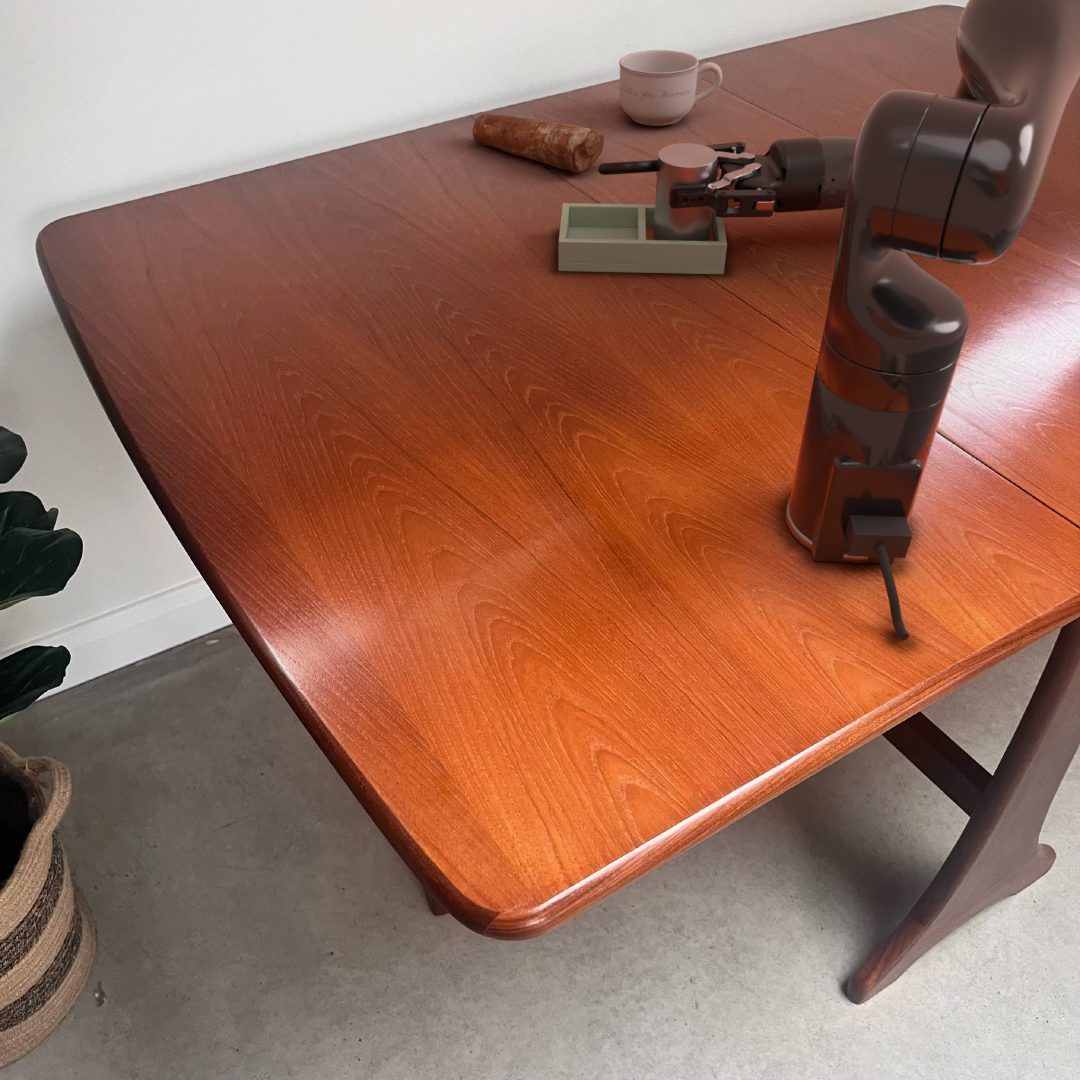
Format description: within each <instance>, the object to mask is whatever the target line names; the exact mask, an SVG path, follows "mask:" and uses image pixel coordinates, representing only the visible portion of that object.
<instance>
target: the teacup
mask: <svg viewBox="0 0 1080 1080" xmlns="http://www.w3.org/2000/svg"><path fill="white" fill-rule="evenodd" d="M618 65H619V101H620V105H621V108H622V110H623V111H624V112H625V114H627V115H628V116H629V117H630V118H631V120H633V121H634V122H635V123H638V124H640V125H643V126H650V127H664V126H669V125H674V124H677V123H678V122H680V121H681V120H682V119H683V118H684V117H685V116H686V115H687V114H689V112H691V110H692V108H696V107H697V106H698V105H699V104H700V103H701V101H703V100H705V99H707V98H709V97H711V96H712V95H713V94H714V93H716V92H717V91H718V89H719V88H720V87H721V85H722V82H723V71H722V69H721V67H720V66H719V65H718V64H717V63H715V62H713V61H708V62H707V61H706V62H704V63H702V64H700V62H699V59H698V58H697V57H696V56H694V55H692V54H691V53H686V52H683V51H676V50H667V49H651V50H641V51H636V52H632V53H631V52H630V53H629V54H626V55H624V56H622V57H621V58H620V59H619V61H618ZM707 71H708V72H709V71H711V72H713V74H714V77H715V78H714V82H713V83H712V84H711V85H710V86H709V87H707V89H705V90H703V91H701V92H698V93H697V85H698V83H699V82H700V81H701V77H702V76H703V74H704V73H705V72H707Z"/></svg>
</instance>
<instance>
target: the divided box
mask: <svg viewBox="0 0 1080 1080" xmlns="http://www.w3.org/2000/svg"><path fill="white" fill-rule="evenodd" d="M715 212H716V211H715V210H712V216H711V226H710V235H709V241H669V240H653V230H654V214H655V204H643V203H642V204H640V203H638V204H637V203H636V204H635V203H586V202H585V203H584V202H583V203H581V202H580V203H578V202H577V203H575V202H563V203H562V205H561V216H560V222H559V223H560V225H559V235H558V259H557V260H558V263H557V264H558V268H557V269H558V272H584V273H585V272H587V273H588V272H589V273H590V272H592V273H639V274H640V273H641V274H681V275H682V274H689V275H724V274H725V265H726V258H727V257H726V255H727V249H728V241H727V237H726V236H727V235H726V228H725V223H724V221H725V220H724V218H720V217H717V216H715Z"/></svg>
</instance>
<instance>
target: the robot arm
mask: <svg viewBox="0 0 1080 1080" xmlns="http://www.w3.org/2000/svg"><path fill="white" fill-rule="evenodd" d="M955 51H956V58H957V62H958V65H959V68H960V72H961V77H960V80H959V83H958V85H957V87H956V90H955V93H954V96H952V95H945V94H938V93H936V92H935V93H933V92H927V91H920V90H914V89H906V88H905V89H904V88H903V89H902V88H897V89H893V90H889V91H887V92H885V93H883V94H882V95H880V97H879V98H877V100H876V101H875V102H874V103H873V104H872V105H871V108H870V109H869V111H868V112H867V113H866V115H865V118H864V119H863V121H862V123H861V126H860V128H859V131H858V134H857V136H843V135H830V136H812V137H796V138H795V137H794V138H779V139H776V140H774V141H773V142H772V143H771V145H770V146H769V150H767V152H766V153H765V154H755V153H752V152H751V153H750V152H746V143H745V142H743V141H734V142H733V141H732V142H723V143H715V144H703V145H704V146H707V147H709V148H711V149H713V150H714V151H715V152H716V153H717V156H718V157H717V167H716V177H715V182H713V183H710V184H708V188H706V185H705V184H690V185H674V186H672V187H671V188H670V190H669V204H670V207H671V208H689V207H704V206H706V207H705V208H706V209H708V210H715V211H716V212H715V216H717V217H720V218H723V219H725V218H771V217H773V215H774V213H776V214H784V213H799V212H813V211H814V212H815V211H830V210H839V209H842V214H841V220H840V221H841V222H840V230H839V238H838V244H837V250H836V258H835V264H834V271H833V275H832V281H831V286H830V291H829V297H828V304H827V312H826V317H825V321H824V326H823V331H822V336H821V340H820V346H819V352H818V356H817V361H816V365H815V370H814V375H813V380H812V385H811V390H810V395H809V400H808V405H807V406H808V407H807V411H806V415H805V420H804V425H803V430H802V434H801V435H802V436H801V440H800V446H799V450H798V454H797V455H798V456H797V459H796V460H797V461H796V466H795V471H794V475H793V481H792V487H791V492H790V496H789V498H788V501H787V506H786V511H785V522H786V525H787V527H788V529H789V531H790V533H791V534H792V536H793V537H794V538H795V539H796V540H797V541H798V543H800V544H801V545H802V546H804V547H805V548H806V549H808V550H809V551H810V553H811V555H812V559H813V560H814V561H816V562H833V563H834V562H836V563H852V564H853V563H854V564H855V563H856V564H858V563H859V564H860V563H862V564H863V563H864V564H865V563H866V564H879V567H880V571H881V574H882V579H883V583H884V586H885V590H886V594H887V599H888V603H889V604H888V605H889V611H890V617H891V621H892V624H893V625H892V626H893V628H894V631H895V633H896V635H897V637H898V639H899V640H901V641H906V640H907V639H909V638H910V635H909V632H908V630H907V629H906V627H905V624H904V621H903V617H902V611H901V604H900V598H899V595H898V590H897V586H896V582H895V578H894V573H893V570H892V567H891V564H894V563H895V562H896V559H906V556H907V554H908V551H909V548H910V544H911V541H912V538H913V534H912V532H911V527H910V525H909V523H910V519H911V516H912V513H913V509H914V507H915V502H916V500H917V497H918V493H919V489H920V486H921V482H922V480H923V476H924V473H925V469H926V467H927V463H928V459H929V456H930V453H931V450H932V447H933V443H934V440H935V437H936V434H937V430H938V427H939V424H940V422H941V421H940V420H941V418H942V414H943V411H944V408H945V404H946V402H947V398H948V395H949V392H950V389H951V386H952V383H953V379H954V377H955V374H956V373H955V372H956V369H957V366H958V363H959V360H960V356H961V353H962V351H963V347H964V345H965V341H966V338H967V334H968V331H969V330H968V329H969V325H970V315H969V310H968V308H967V305H966V303H965V301H964V300H963V298H962V297H961V296H960V295H959V294H958V293H957V292H956V291H955V290H954V289H953V288H952V287H950V286H949V285H948V284H947V283H945V282H943V281H942V280H941V279H939V278H938V277H936V276H934V275H933V274H932V273H930V272H929V271H927V270H926V269H924V268H923V267H922V266H921V265H920V264H918V262H916V261H915V260H914V259H913V258H912V257H911V255H913V256H914V255H915V256H920V257H922V258H923V257H924V258H929V259H933V260H937V261H942V262H947V263H953V264H956V265H957V264H958V265H967V266H982V265H984V266H985V265H989V264H991V263H993V262H995V261H997V260H999V258H1001V257H1002V256H1003V255H1004V254H1005V253H1006V252H1007V251H1009V249H1010V248H1011V246H1013V244H1014V243H1015V242H1016V240H1017V238H1018V237H1019V235H1020V233H1021V232H1022V230H1023V228H1024V226H1025V225H1026V222H1027V220H1028V218H1029V215H1030V213H1031V211H1032V210H1033V206H1034V204H1035V201H1036V199H1037V196H1038V193H1039V190H1040V188H1041V185H1042V182H1043V179H1044V177H1045V176H1044V175H1045V173H1046V170H1047V166H1048V163H1049V160H1050V156H1051V153H1052V150H1053V147H1054V144H1055V141H1056V138H1057V134H1058V131H1059V128H1060V125H1061V122H1062V119H1063V116H1064V113H1065V109H1066V107H1067V105H1068V103H1069V100H1070V98H1071V96H1072V94H1073V92H1074V89H1075V88H1076V86H1077V83H1078V81H1079V79H1080V0H968V1H967V3H966V5H965V7H964V9H963V11H962V13H961V15H960V18H959V22H958V24H957V29H956V35H955ZM655 173H656V174H655V175H656V176H657V172H655Z"/></svg>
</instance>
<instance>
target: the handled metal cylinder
mask: <svg viewBox="0 0 1080 1080" xmlns="http://www.w3.org/2000/svg"><path fill="white" fill-rule="evenodd" d="M704 145H705V144H699V143H694V142H692V143H691V142H680V143H673V144H669V145H666V146H664V147H662V148H661V149H660V150H659V151H658V154H657V159H647V160H646V159H645V160H630V161H629V160H628V161H615V162H612V161H611V162H602V163H600V164H599V165H598V168H597V172H598V173H599V174H600V175H602V176H611V175H627V174H629V175H630V174H644V173H656V172H657V175H656V181H655V182H656V183H655V184H656V186H655V200H654V201H655V203H654V205H655V214H654V230H653V240H669V241H709V235H710V226H711V216H712V210H708V209H706V208H705V207H706V206H704V207H689V208H671V207H670V204H669V190H670V188H671V187H672V186H674V185H690V184H705V185H706V188H708V184H710V183H713V182H715V177H716V167H717V157H718V156H717V153H716V152H715V151H714V150H713V149H711V148H709V147H707V146H704Z"/></svg>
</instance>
